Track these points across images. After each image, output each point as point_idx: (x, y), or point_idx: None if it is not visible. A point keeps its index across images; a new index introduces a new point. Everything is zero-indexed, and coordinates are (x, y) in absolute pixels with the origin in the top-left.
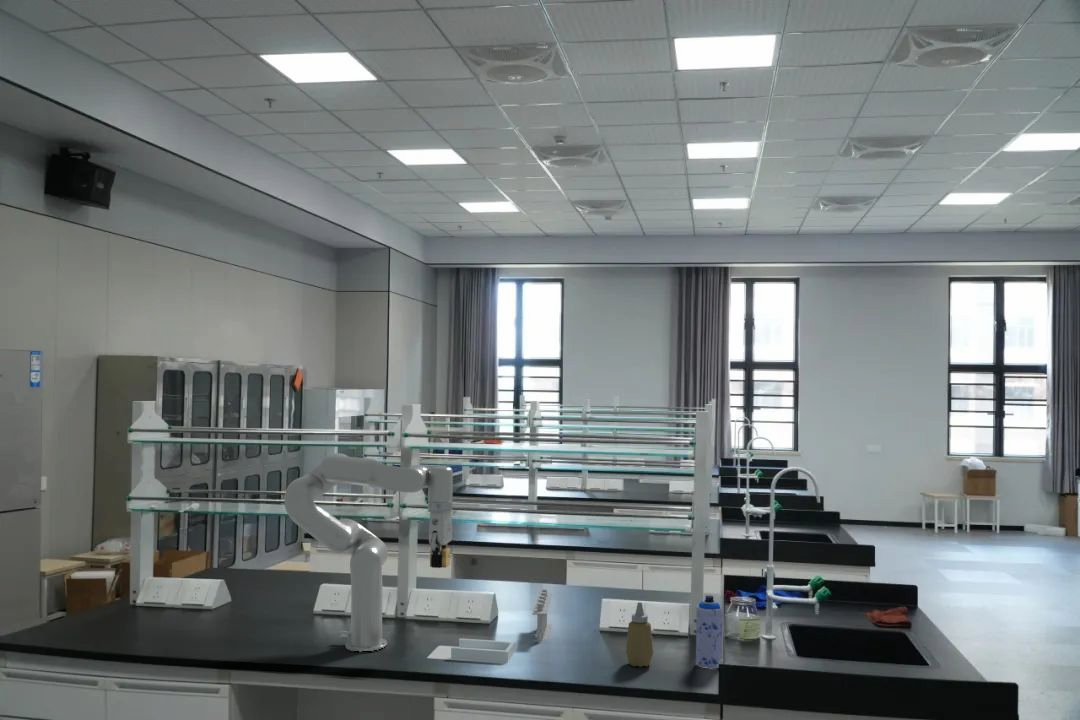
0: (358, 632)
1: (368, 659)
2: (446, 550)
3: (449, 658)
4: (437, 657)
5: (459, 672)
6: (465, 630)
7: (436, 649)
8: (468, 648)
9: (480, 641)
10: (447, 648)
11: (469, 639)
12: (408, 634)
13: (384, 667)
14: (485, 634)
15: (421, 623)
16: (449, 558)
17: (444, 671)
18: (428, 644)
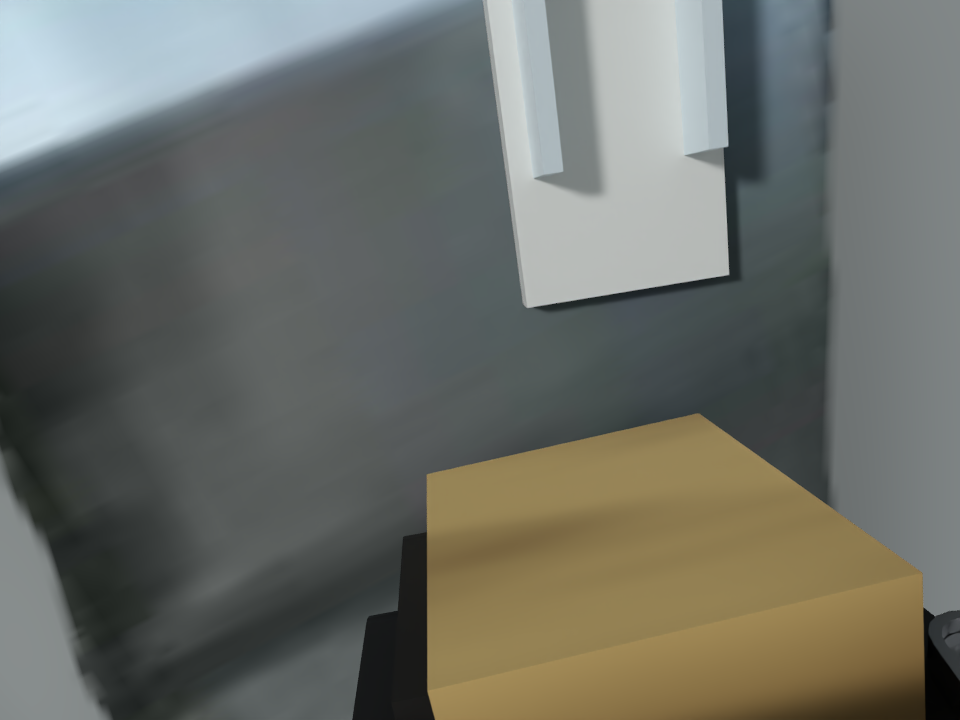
0: None
1: None
2: (819, 611)
3: (706, 158)
4: (708, 226)
5: (801, 54)
6: (137, 326)
7: (591, 289)
8: (711, 38)
9: (545, 27)
10: (559, 242)
11: (546, 106)
12: (342, 558)
13: (813, 418)
14: (151, 183)
15: (139, 593)
16: (461, 518)
17: (804, 135)
18: (451, 396)
